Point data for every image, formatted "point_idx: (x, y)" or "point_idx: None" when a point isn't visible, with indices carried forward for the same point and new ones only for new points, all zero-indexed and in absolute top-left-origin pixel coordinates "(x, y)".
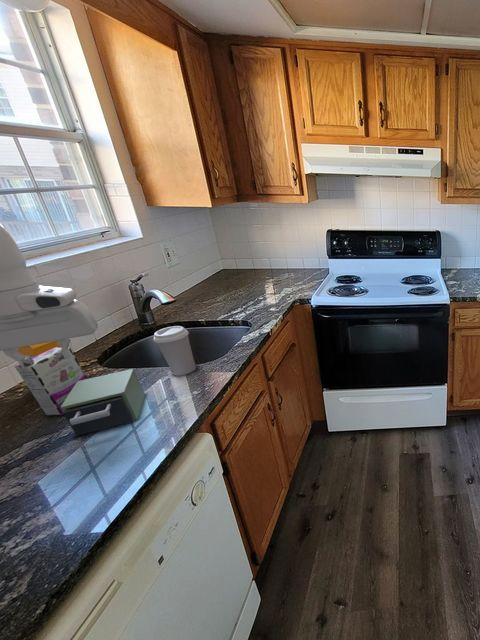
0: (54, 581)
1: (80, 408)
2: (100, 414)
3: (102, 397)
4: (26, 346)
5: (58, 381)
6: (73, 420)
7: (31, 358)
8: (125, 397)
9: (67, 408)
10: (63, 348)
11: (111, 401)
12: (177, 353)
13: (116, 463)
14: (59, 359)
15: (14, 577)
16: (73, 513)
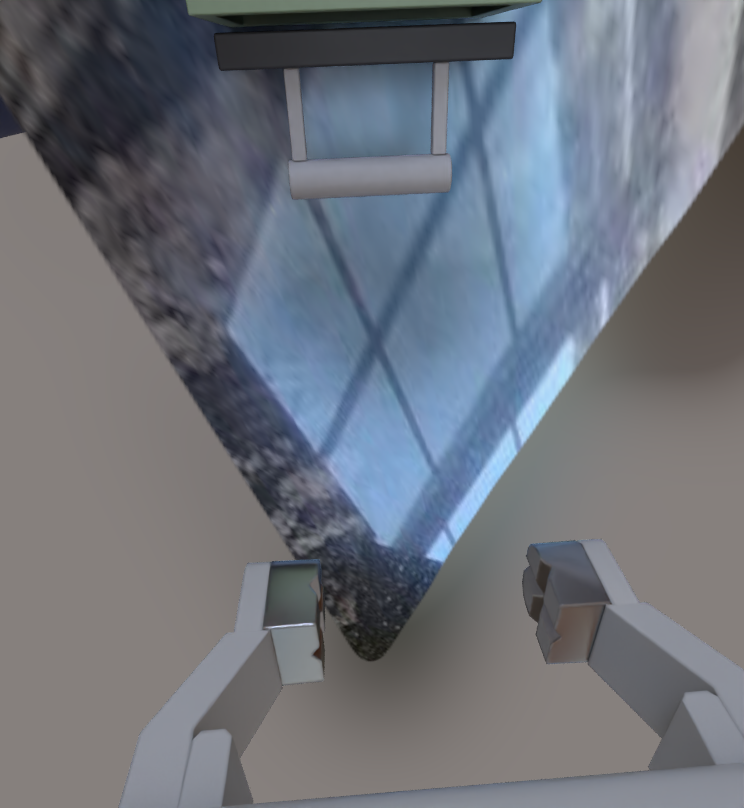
0: (394, 621)
1: (303, 62)
2: (420, 192)
3: (418, 7)
4: None
5: None
6: (307, 197)
7: (318, 608)
8: (521, 6)
9: (222, 15)
10: (644, 701)
11: (460, 60)
12: None
13: (439, 347)
14: (527, 599)
15: (327, 595)
16: (376, 496)
